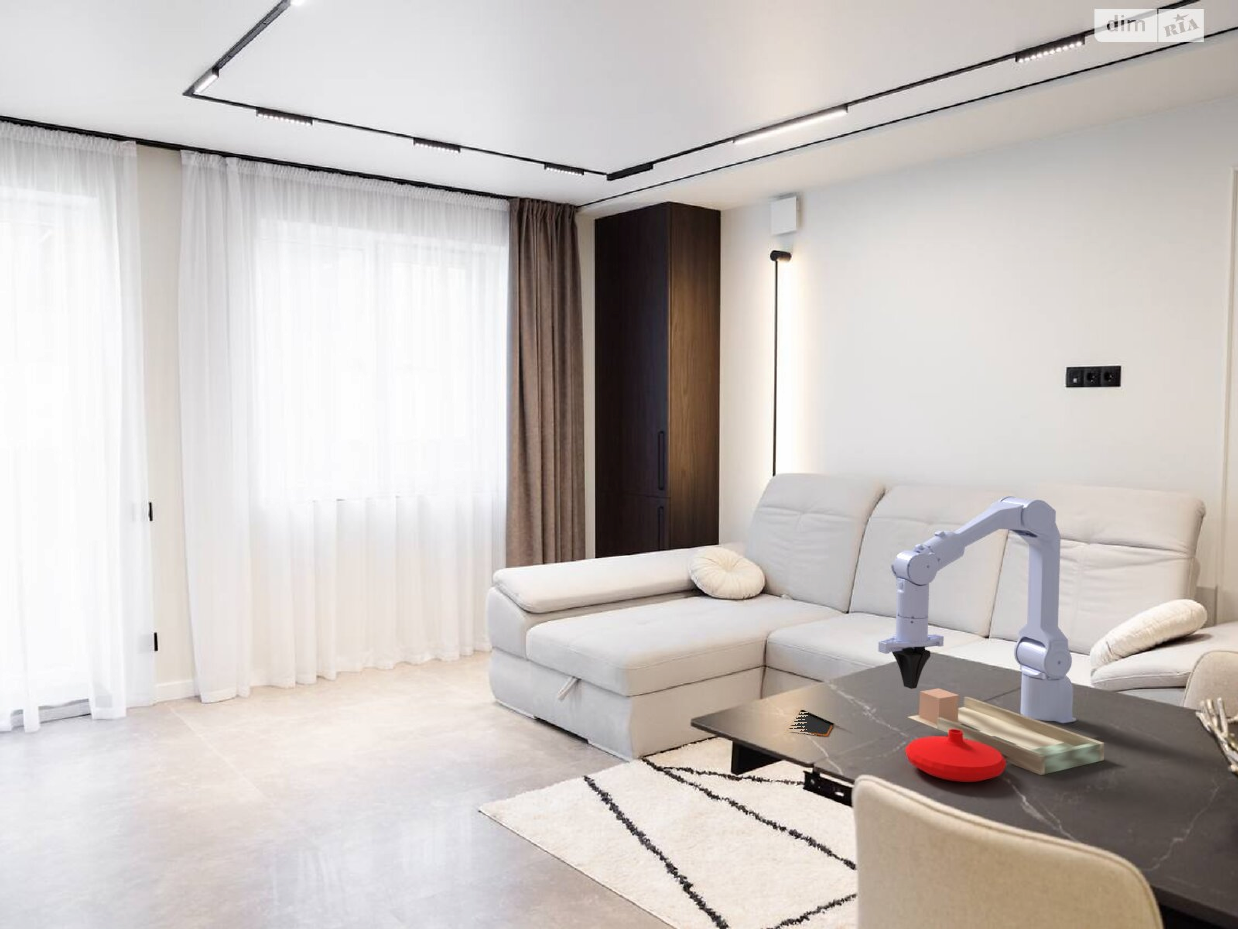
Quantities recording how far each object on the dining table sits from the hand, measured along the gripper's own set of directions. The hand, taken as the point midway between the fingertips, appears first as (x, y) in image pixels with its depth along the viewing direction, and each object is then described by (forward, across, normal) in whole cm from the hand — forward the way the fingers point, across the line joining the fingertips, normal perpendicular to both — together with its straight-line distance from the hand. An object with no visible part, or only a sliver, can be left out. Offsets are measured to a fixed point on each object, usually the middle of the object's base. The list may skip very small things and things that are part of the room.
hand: (910, 687), depth 177 cm
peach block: (+7, -8, 0) cm, 10 cm away
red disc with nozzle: (+8, +9, +20) cm, 23 cm away
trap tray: (+8, -11, +12) cm, 18 cm away
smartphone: (+9, +13, -12) cm, 19 cm away
